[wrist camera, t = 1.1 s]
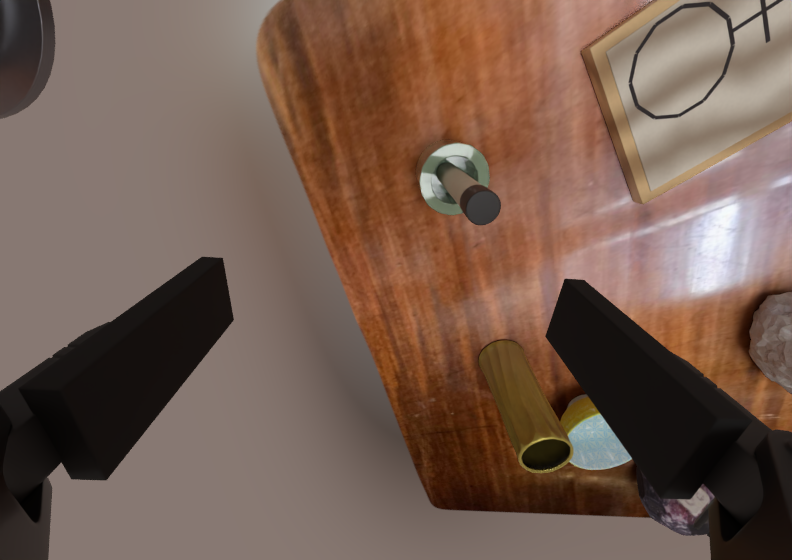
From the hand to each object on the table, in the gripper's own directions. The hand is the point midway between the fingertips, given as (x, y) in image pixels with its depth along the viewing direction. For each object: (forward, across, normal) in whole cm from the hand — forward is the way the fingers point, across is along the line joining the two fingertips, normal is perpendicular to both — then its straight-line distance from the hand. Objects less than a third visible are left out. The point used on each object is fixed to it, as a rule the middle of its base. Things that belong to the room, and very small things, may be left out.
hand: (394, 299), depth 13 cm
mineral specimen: (+24, +47, -43) cm, 68 cm away
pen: (+23, +5, +2) cm, 23 cm away
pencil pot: (+23, +5, +2) cm, 24 cm away
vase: (+24, +16, -21) cm, 36 cm away
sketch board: (+23, +28, +13) cm, 39 cm away
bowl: (+24, +30, -29) cm, 48 cm away
